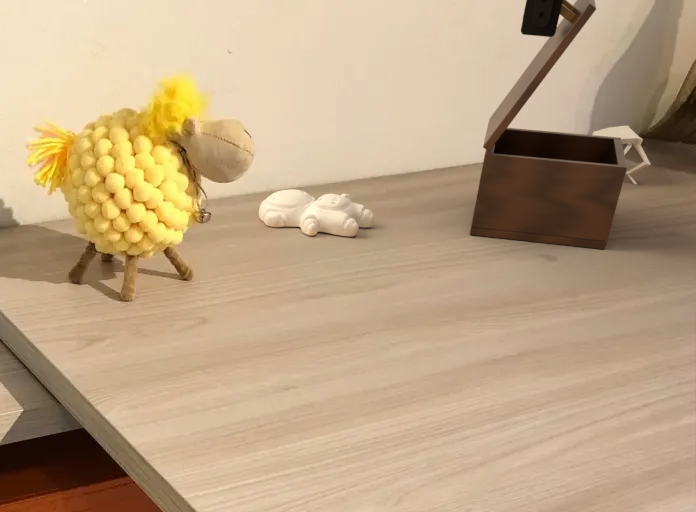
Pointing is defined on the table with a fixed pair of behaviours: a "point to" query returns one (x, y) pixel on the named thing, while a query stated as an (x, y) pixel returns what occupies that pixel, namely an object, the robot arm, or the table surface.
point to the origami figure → (627, 138)
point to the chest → (550, 188)
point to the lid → (539, 67)
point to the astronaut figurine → (315, 213)
